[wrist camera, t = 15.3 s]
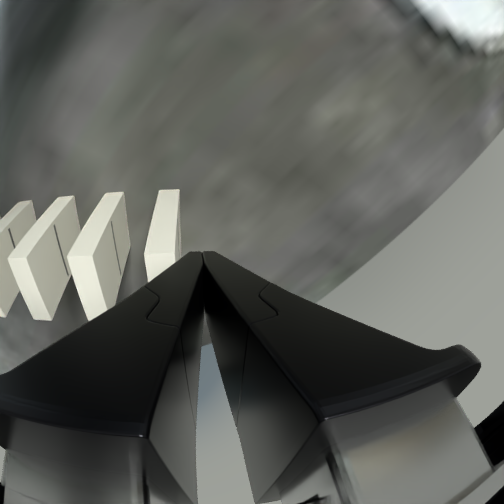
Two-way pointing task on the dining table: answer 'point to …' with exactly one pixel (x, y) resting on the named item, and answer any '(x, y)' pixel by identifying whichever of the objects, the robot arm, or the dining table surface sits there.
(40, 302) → the domino
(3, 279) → the domino
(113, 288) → the domino
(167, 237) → the domino
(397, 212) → the dining table surface
